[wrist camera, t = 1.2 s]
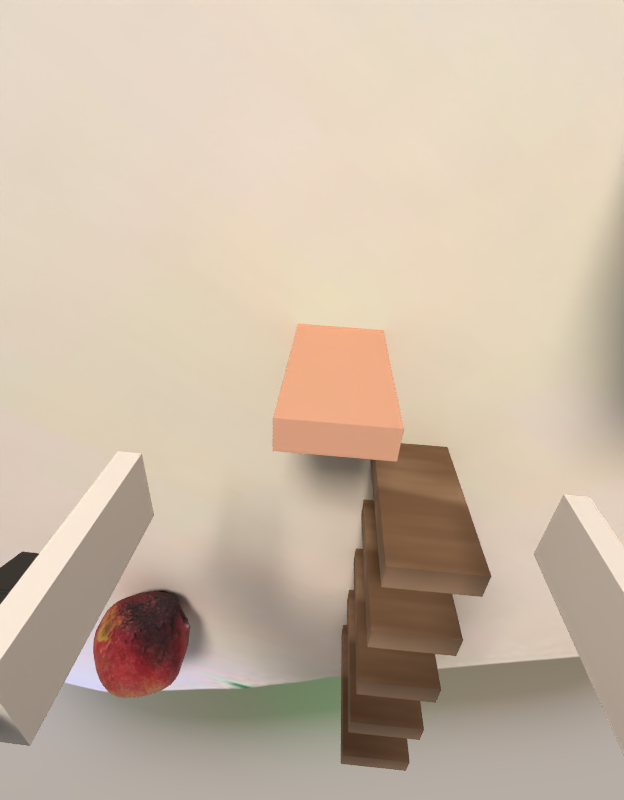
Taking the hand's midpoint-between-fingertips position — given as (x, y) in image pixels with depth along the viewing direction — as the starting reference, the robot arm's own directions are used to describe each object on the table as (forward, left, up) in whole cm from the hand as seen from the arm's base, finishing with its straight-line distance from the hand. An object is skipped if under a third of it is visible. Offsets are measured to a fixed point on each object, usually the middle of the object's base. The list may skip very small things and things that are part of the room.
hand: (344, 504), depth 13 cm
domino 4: (+5, -19, -13) cm, 24 cm away
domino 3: (+5, -14, -13) cm, 20 cm away
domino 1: (0, 0, -13) cm, 13 cm away
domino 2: (+5, -8, -13) cm, 16 cm away
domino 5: (+5, -25, -13) cm, 28 cm away
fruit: (-15, -28, -14) cm, 34 cm away
